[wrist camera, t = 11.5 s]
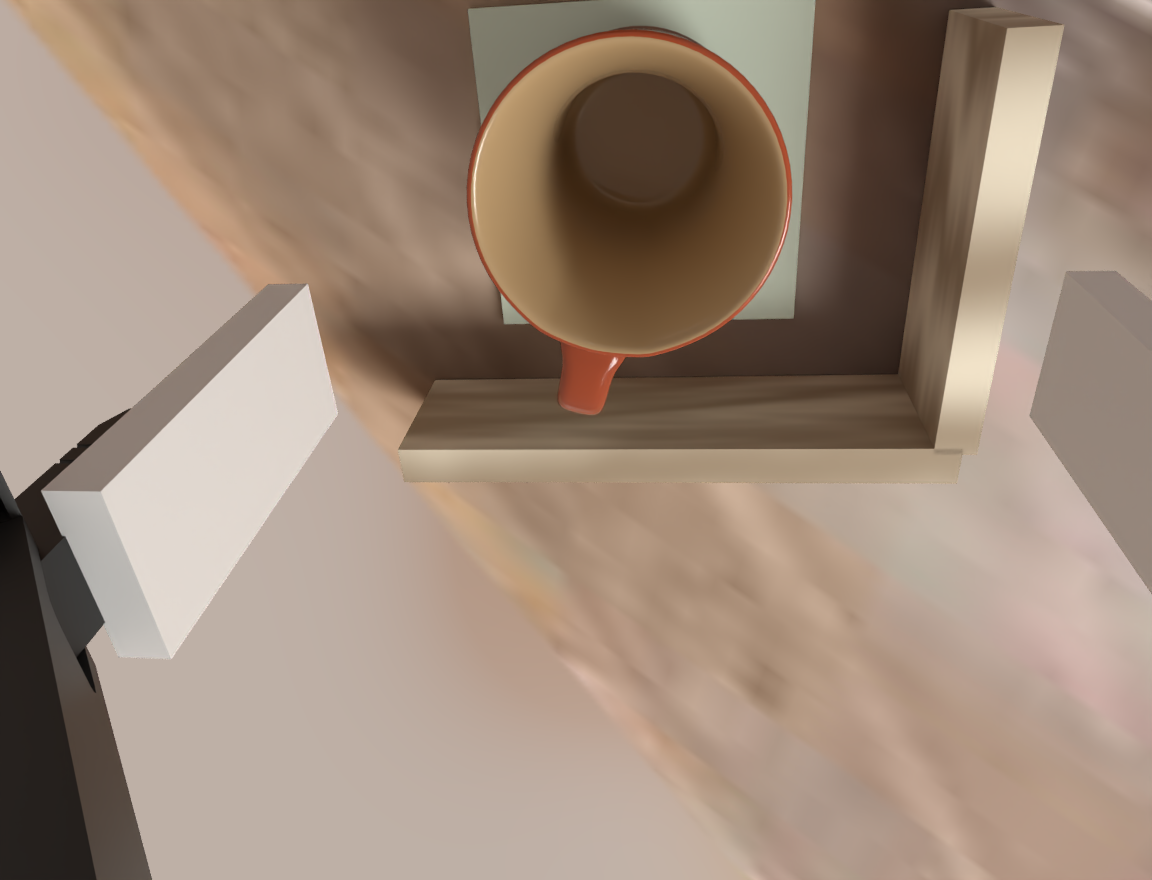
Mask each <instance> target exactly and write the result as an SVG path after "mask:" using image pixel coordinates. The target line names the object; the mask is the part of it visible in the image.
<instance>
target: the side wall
mask: <svg viewBox="0 0 1152 880" xmlns="http://www.w3.org/2000/svg"><path fill="white" fill-rule="evenodd" d="M1063 29H1064V25H1063V24H1059V23H1055V22H1051V21H1048V20H1044V19H1040V18H1036V17H1032V16H1028V15H1024V14H1021V13H1017V12H1013V11H1009V10H1005V9H1001V8H998V7H989V8H973V9H957V10H949V16H948V23H947V31H946V38H945V45H944V52H943V59H942V66H941V73H940V80H939V87H938V95H937V102H936V109H935V116H934V123H933V130H932V137H931V144H930V151H929V158H928V166H927V173H926V180H925V187H924V194H923V201H922V208H921V215H920V222H919V230H918V237H917V244H916V251H915V258H914V265H913V272H912V279H911V286H910V293H909V301H908V308H907V315H906V322H905V329H904V336H903V343H902V350H901V357H900V365H899V372H898V375H899V377H900V379H901V381H902V383H903V385H904V387H905V390H906V392H907V394H908V396H909V398H910V400H911V402H912V404H913V406H914V408H915V410H916V412H917V414H918V416H919V418H920V420H921V422H922V424H923V426H924V428H925V431H926V433H927V435H928V437H929V439H930V441H931V443H932V445H933V447H934V450H935V449H940V450H941V449H961V450H963V451H962V452H963V454H962V455H977V452H978V447H979V442H980V437H981V432H982V427H983V422H984V417H985V412H986V407H987V402H988V398H989V393H990V388H991V383H992V378H993V373H994V368H995V363H996V358H997V353H998V348H999V344H1000V339H1001V334H1002V329H1003V324H1004V319H1005V314H1006V309H1007V304H1008V299H1009V294H1010V290H1011V285H1012V280H1013V275H1014V270H1015V265H1016V260H1017V255H1018V250H1019V245H1020V240H1021V236H1022V231H1023V226H1024V221H1025V216H1026V211H1027V206H1028V201H1029V196H1030V191H1031V186H1032V182H1033V177H1034V172H1035V167H1036V162H1037V157H1038V152H1039V147H1040V142H1041V137H1042V132H1043V128H1044V123H1045V118H1046V113H1047V108H1048V103H1049V98H1050V93H1051V88H1052V83H1053V78H1054V74H1055V69H1056V64H1057V59H1058V54H1059V49H1060V44H1061V39H1062V34H1063ZM961 450H958V451H961ZM935 451H937V450H935ZM953 451H955V450H953ZM939 452H940V451H939ZM945 452H946V451H945ZM949 453H951V452H949ZM949 453H948V454H949ZM954 453H957V452H954ZM958 453H959V452H958ZM934 454H935V453H934ZM942 454H943V453H942ZM959 454H960V453H959ZM935 455H936V454H935ZM937 455H938V454H937ZM945 455H946V454H945ZM950 455H952V454H950Z"/></svg>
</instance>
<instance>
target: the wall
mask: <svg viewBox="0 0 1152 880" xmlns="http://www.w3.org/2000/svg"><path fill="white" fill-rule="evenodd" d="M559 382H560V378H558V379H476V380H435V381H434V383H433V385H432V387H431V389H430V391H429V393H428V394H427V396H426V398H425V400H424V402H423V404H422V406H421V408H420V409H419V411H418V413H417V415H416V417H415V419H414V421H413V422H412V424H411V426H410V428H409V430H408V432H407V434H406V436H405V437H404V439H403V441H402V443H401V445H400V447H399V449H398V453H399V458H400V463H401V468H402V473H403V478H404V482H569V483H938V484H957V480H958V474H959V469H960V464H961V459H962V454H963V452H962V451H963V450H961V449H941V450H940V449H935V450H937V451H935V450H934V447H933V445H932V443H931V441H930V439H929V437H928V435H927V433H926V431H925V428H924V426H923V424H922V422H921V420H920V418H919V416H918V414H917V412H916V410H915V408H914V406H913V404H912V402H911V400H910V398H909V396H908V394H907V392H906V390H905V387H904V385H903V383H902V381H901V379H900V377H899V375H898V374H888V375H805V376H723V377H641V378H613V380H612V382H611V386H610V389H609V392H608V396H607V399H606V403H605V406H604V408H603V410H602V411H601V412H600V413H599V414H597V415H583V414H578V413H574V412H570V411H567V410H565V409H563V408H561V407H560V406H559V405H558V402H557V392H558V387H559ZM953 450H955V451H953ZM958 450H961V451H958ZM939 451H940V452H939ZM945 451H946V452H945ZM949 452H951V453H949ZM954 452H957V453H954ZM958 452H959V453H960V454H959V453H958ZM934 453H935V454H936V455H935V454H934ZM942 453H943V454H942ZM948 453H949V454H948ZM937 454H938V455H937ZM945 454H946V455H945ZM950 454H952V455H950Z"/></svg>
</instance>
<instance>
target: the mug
mask: <svg viewBox="0 0 1152 880" xmlns="http://www.w3.org/2000/svg"><path fill="white" fill-rule="evenodd" d="M791 207H792V176H791V167H790V162H789V157H788V153H787V148H786V145H785V142H784V139H783V136H782V133H781V131H780V129H779V126H778V124H777V122H776V120H775V117H774V116H773V114H772V112H771V111H770V109H769V107H768V105H767V104H766V102H765V101H764V99H763V98H762V97H761V95H760V94H759V93H758V91H757V90H756V89H755V87H754V86H753V85H752V84H751V83H750V82H749V81H748V80H747V79H746V78H745V76H743V75H742V74H741V73H740V72H739V71H738V70H737V69H736V68H734V67H733V66H732V65H731V64H730V63H728V62H727V61H725V60H724V59H723V58H721V57H720V56H718V55H717V54H715V53H713V52H712V51H710V50H708V49H707V48H705V47H704V46H703V45H701V44H700V43H698V42H697V41H695V40H693V39H691V38H690V37H688V36H686V35H683V34H681V33H679V32H676V31H673V30H669V29H666V28H661V27H655V26H628V27H621V28H617V29H613V30H609V31H604V32H598V33H594V34H590V35H586V36H582V37H579V38H577V39H574V40H571V41H569V42H566V43H564V44H562V45H560V46H558V47H556V48H554V49H552V50H550V51H548V52H546V53H545V54H543V55H542V56H540V57H539V58H537V59H535V60H534V61H533V62H532V63H530V64H529V65H528V66H527V67H525V68H524V69H523V70H522V71H521V72H520V73H519V74H518V75H517V76H516V77H515V78H514V79H513V80H511V81H510V82H509V84H508V85H507V86H506V87H505V89H504V90H503V91H502V92H501V93H500V95H499V96H498V97H497V99H496V100H495V102H494V103H493V105H492V106H491V108H490V109H489V111H488V113H487V115H486V117H485V119H484V121H483V123H482V125H481V127H480V130H479V132H478V135H477V137H476V140H475V143H474V147H473V150H472V154H471V158H470V163H469V169H468V178H467V209H468V218H469V223H470V228H471V233H472V236H473V240H474V243H475V246H476V249H477V252H478V254H479V257H480V259H481V261H482V263H483V265H484V267H485V269H486V271H487V273H488V275H489V277H490V278H491V280H492V281H493V283H494V284H495V286H496V287H497V289H498V290H499V291H500V293H501V294H502V295H503V297H504V298H505V299H506V300H507V301H508V302H509V304H510V305H511V306H512V307H513V308H514V309H515V310H516V311H517V312H518V313H519V314H520V315H521V316H522V317H523V318H524V319H525V320H526V321H527V322H528V323H530V324H531V325H532V326H533V327H534V328H536V329H537V330H538V331H540V332H542V333H543V334H545V335H547V336H549V337H551V338H553V339H555V340H558V341H560V345H561V351H562V357H563V364H562V372H561V377H560V382H559V387H558V392H557V402H558V405H559V406H560V407H561V408H563V409H565V410H567V411H570V412H574V413H578V414H583V415H597V414H599V413H600V412H601V411H602V410H603V408H604V406H605V403H606V399H607V396H608V392H609V389H610V386H611V382H612V380H613V377H614V375H615V373H616V371H617V369H618V368H619V367H620V365H621V364H622V362H623V361H624V359H625V358H626V357H650V356H655V355H659V354H663V353H666V352H670V351H673V350H676V349H679V348H681V347H684V346H686V345H689V344H691V343H694V342H696V341H698V340H700V339H702V338H704V337H706V336H708V335H709V334H711V333H713V332H714V331H716V330H718V329H719V328H721V327H722V326H723V325H725V324H726V323H728V322H729V321H730V320H732V319H733V318H734V317H735V316H736V315H737V314H738V313H740V312H741V311H742V310H743V309H744V308H745V307H746V306H747V305H748V303H749V302H750V301H751V300H752V299H753V298H754V297H755V295H756V294H757V293H758V292H759V290H760V289H761V288H762V286H763V285H764V283H765V282H766V280H767V279H768V277H769V275H770V274H771V272H772V270H773V268H774V266H775V264H776V262H777V260H778V258H779V255H780V253H781V250H782V248H783V245H784V242H785V238H786V235H787V231H788V227H789V222H790V216H791Z"/></svg>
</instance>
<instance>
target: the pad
mask: <svg viewBox="0 0 1152 880" xmlns="http://www.w3.org/2000/svg"><path fill="white" fill-rule="evenodd" d="M814 15H815V0H589V1H574V2H559V3H544V4H529V5H514V6H498V7H483V8H469V9H468V17H469V26H470V35H471V43H472V52H473V60H474V69H475V78H476V86H477V95H478V104H479V112H480V121H481V125H482V123H483V121H484V119H485V117H486V115H487V113H488V111H489V109H490V108H491V106H492V105H493V103H494V102H495V100H496V99H497V97H498V96H499V95H500V93H501V92H502V91H503V90H504V89H505V87H506V86H507V85H508V84H509V82H510V81H511V80H513V79H514V78H515V77H516V76H517V75H518V74H519V73H520V72H521V71H522V70H523V69H524V68H525V67H527V66H528V65H529V64H530V63H532V62H533V61H534V60H535V59H537V58H539V57H540V56H542V55H543V54H545V53H546V52H548V51H550V50H552V49H554V48H556V47H558V46H560V45H562V44H564V43H566V42H569V41H571V40H574V39H577V38H579V37H582V36H586V35H590V34H594V33H598V32H604V31H609V30H613V29H617V28H621V27H628V26H655V27H661V28H666V29H669V30H673V31H676V32H679V33H681V34H683V35H686V36H688V37H690V38H691V39H693V40H695V41H697V42H698V43H700V44H701V45H703V46H704V47H705V48H707V49H708V50H710V51H712V52H713V53H715V54H717V55H718V56H720V57H721V58H723V59H724V60H725V61H727V62H728V63H730V64H731V65H732V66H733V67H734V68H736V69H737V70H738V71H739V72H740V73H741V74H742V75H743V76H745V78H746V79H747V80H748V81H749V82H750V83H751V84H752V85H753V86H754V87H755V89H756V90H757V91H758V93H759V94H760V95H761V97H762V98H763V99H764V101H765V102H766V104H767V105H768V107H769V109H770V111H771V112H772V114H773V116H774V117H775V120H776V122H777V124H778V126H779V129H780V131H781V133H782V136H783V139H784V142H785V145H786V148H787V153H788V157H789V162H790V167H791V176H792V207H791V216H790V222H789V227H788V231H787V235H786V238H785V242H784V245H783V248H782V250H781V253H780V255H779V258H778V260H777V262H776V264H775V266H774V268H773V270H772V272H771V274H770V275H769V277H768V279H767V280H766V282H765V283H764V285H763V286H762V288H761V289H760V290H759V292H758V293H757V294H756V295H755V297H754V298H753V299H752V300H751V301H750V302H749V303H748V305H747V306H746V307H745V308H744V309H743V310H742V311H741V312H740V313H738V314H737V315H736V316H735V317H734V318H733V319H732V320H742V319H792V318H794V305H795V290H796V276H797V261H798V247H799V232H800V218H801V203H802V189H803V174H804V160H805V145H806V131H807V116H808V102H809V87H810V73H811V58H812V44H813V29H814ZM501 302H502V310H503V319H504V324H530V323H528V322H527V321H526V320H525V319H524V318H523V317H522V316H521V315H520V314H519V313H518V312H517V311H516V310H515V309H514V308H513V307H512V306H511V305H510V304H509V302H508V301H507V300H506V299H505V298H504V297H503V295H502V294H501Z"/></svg>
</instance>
